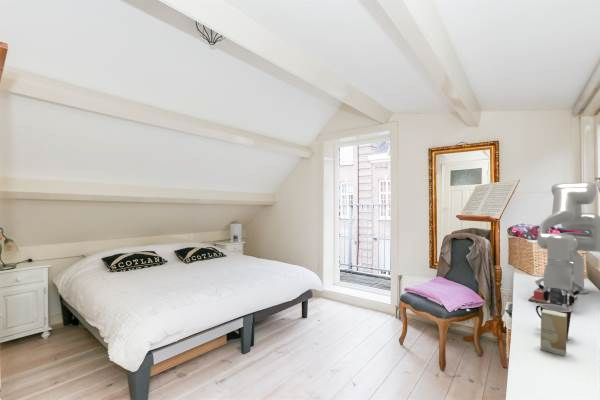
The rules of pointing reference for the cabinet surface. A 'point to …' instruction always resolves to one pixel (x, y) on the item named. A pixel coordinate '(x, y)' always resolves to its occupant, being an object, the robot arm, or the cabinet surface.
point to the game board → (549, 299)
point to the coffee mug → (557, 309)
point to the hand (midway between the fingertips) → (558, 302)
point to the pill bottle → (558, 297)
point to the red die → (538, 294)
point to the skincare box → (553, 331)
